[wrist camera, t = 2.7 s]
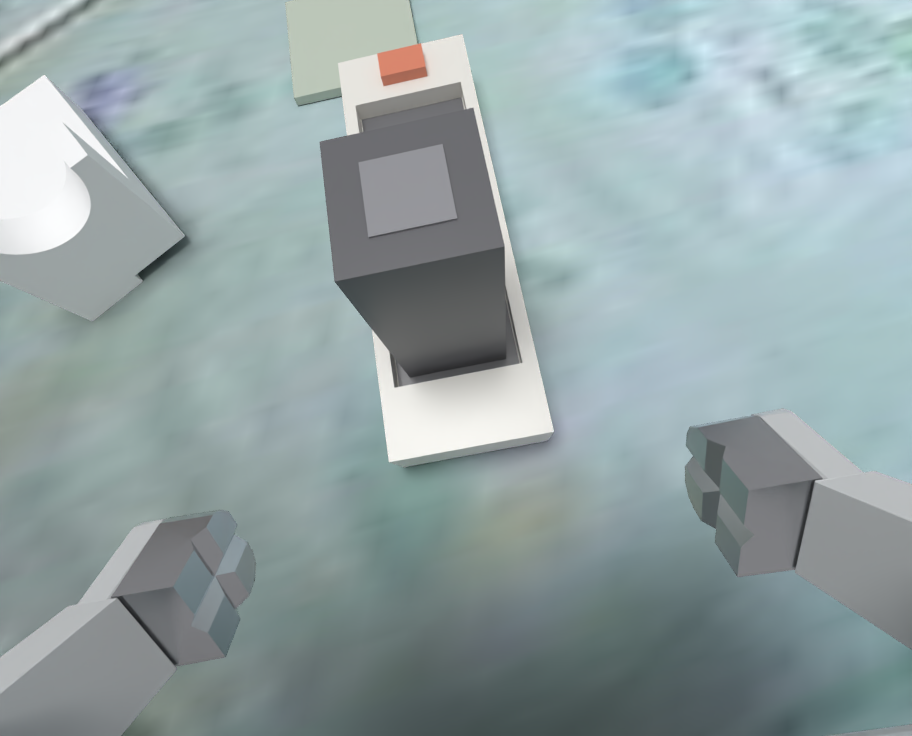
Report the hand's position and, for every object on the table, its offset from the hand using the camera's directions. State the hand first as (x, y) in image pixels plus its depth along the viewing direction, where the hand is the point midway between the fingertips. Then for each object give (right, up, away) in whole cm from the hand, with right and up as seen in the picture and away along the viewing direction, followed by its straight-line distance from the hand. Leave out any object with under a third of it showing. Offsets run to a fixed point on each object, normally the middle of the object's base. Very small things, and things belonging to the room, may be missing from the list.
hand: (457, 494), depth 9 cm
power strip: (-1, +9, +18) cm, 19 cm away
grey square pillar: (0, +4, +14) cm, 15 cm away
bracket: (-22, +12, +21) cm, 33 cm away
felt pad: (-7, +23, +22) cm, 33 cm away
